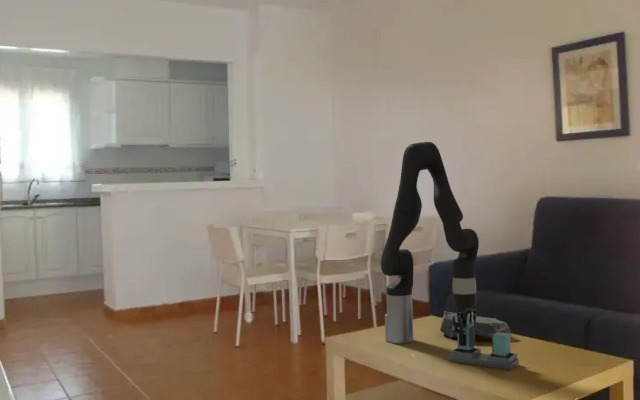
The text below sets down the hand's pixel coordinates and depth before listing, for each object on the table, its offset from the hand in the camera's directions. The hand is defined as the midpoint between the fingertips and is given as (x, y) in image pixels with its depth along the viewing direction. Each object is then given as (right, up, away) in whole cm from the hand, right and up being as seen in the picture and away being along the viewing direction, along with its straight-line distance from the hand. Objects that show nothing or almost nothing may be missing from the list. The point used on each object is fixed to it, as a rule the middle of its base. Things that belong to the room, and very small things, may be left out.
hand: (465, 343), depth 217 cm
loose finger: (0, -1, 0) cm, 1 cm away
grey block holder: (+5, -5, -3) cm, 8 cm away
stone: (+11, -4, +33) cm, 35 cm away
